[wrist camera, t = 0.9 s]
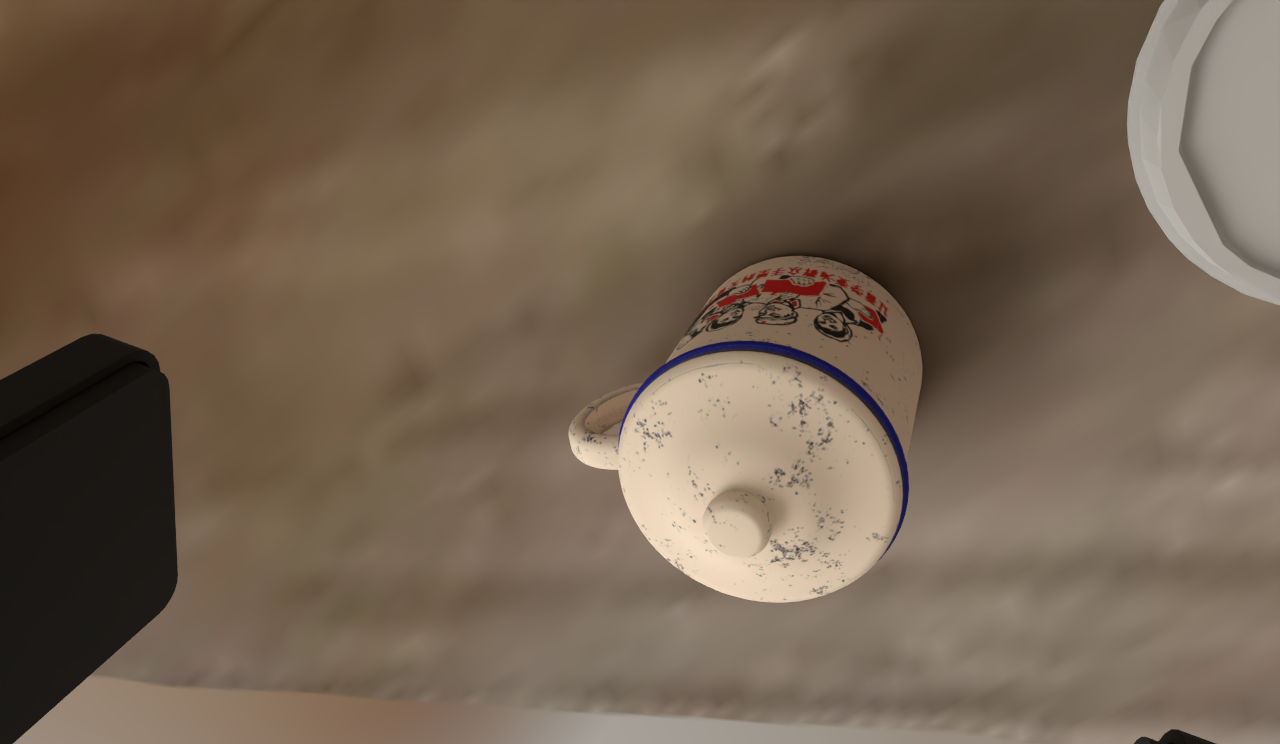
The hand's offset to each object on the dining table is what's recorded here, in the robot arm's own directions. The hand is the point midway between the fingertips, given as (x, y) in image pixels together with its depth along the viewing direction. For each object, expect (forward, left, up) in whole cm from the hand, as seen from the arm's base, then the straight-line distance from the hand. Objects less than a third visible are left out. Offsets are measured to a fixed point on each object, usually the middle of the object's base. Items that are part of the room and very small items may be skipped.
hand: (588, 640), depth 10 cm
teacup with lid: (-1, -12, -29) cm, 31 cm away
